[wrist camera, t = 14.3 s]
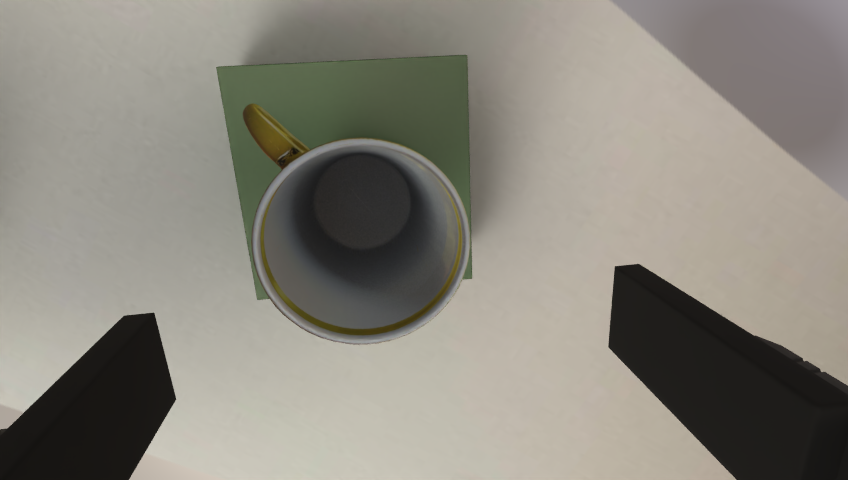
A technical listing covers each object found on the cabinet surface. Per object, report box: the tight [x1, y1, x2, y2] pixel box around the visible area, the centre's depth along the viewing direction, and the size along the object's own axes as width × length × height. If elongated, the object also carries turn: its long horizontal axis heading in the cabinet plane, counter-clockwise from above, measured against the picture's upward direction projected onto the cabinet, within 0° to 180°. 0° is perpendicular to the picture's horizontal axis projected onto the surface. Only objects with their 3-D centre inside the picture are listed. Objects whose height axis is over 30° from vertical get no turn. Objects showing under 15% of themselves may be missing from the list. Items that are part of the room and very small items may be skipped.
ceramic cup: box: [243, 103, 470, 344], centre depth 26 cm, size 13×10×10 cm
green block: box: [216, 55, 472, 300], centre depth 33 cm, size 15×15×5 cm
